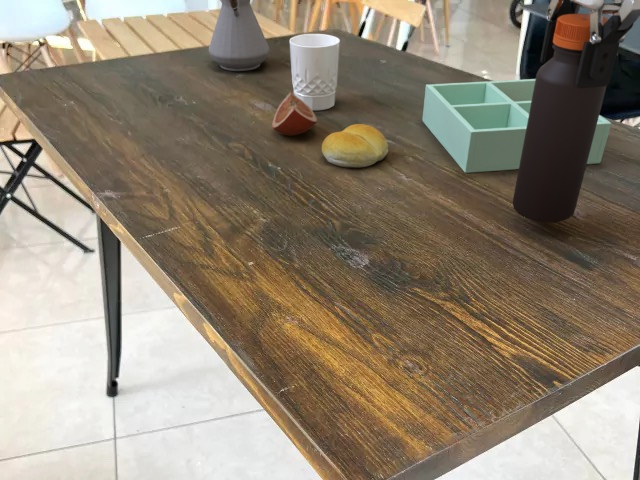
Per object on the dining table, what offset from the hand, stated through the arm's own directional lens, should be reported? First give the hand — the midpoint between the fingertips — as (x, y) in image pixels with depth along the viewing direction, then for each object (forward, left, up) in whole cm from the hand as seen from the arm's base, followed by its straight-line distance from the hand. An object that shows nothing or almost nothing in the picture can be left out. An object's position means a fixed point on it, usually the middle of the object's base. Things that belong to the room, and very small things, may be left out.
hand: (572, 72), depth 64 cm
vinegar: (0, 0, -15) cm, 15 cm away
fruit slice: (+23, -33, -17) cm, 44 cm away
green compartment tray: (-7, -25, -17) cm, 31 cm away
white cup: (+18, -45, -17) cm, 52 cm away
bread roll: (+16, -23, -17) cm, 33 cm away
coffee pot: (+29, -64, -17) cm, 72 cm away
